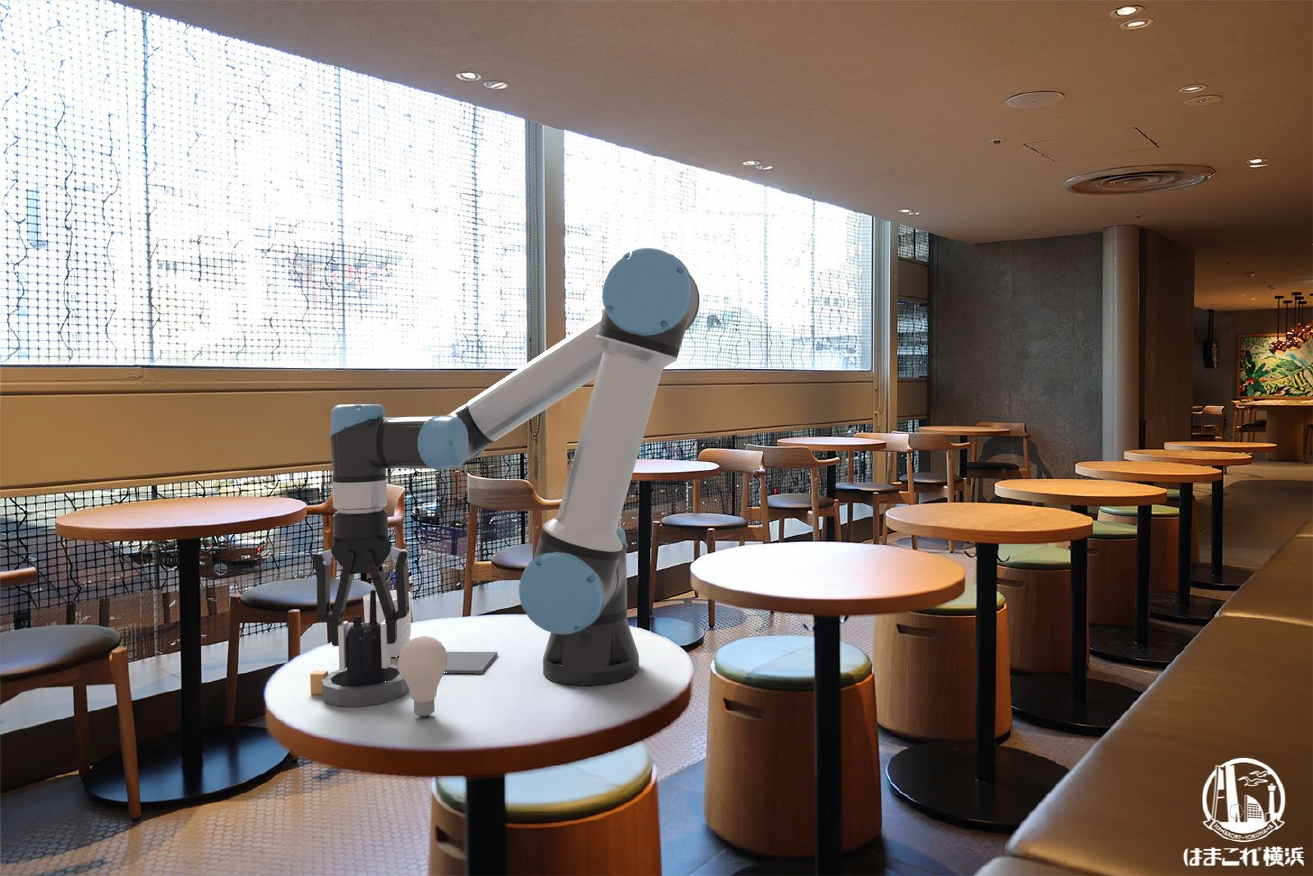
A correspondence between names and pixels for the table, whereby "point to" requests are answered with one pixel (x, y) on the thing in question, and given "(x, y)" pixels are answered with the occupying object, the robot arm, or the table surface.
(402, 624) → the white cup
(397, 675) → the dock collar
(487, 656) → the mat
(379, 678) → the two-way radio
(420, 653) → the light bulb
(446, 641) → the table surface
